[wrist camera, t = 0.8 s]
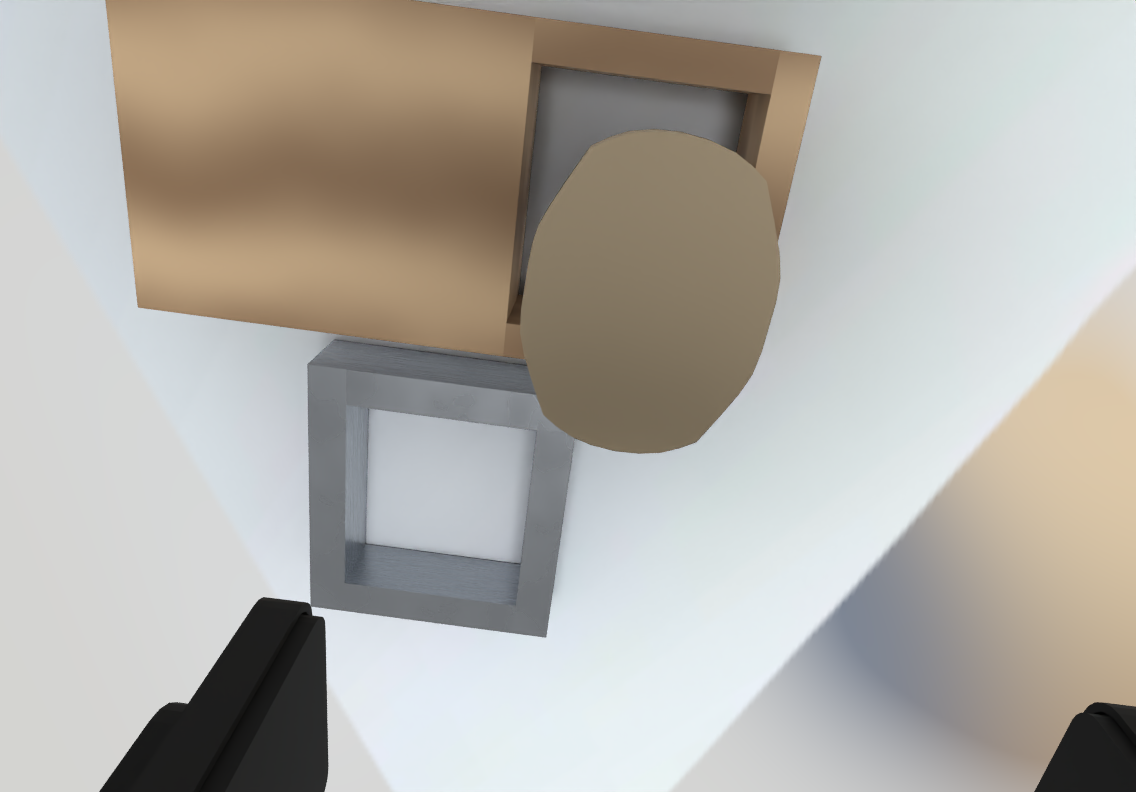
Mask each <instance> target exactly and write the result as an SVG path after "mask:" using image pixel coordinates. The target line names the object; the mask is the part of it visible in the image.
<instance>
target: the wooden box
mask: <svg viewBox="0 0 1136 792" xmlns="http://www.w3.org/2000/svg"><path fill="white" fill-rule="evenodd" d="M106 9H107V19H108V28H109V38H110V47H111V57H112V66H113V76H114V85H115V95H116V104H117V114H118V123H119V133H120V142H121V152H122V161H123V171H124V180H125V190H126V199H127V209H128V218H129V228H130V237H131V246H132V256H133V265H134V275H135V284H136V294H137V303H138V307H139V308H146V309H154V310H161V311H168V312H176V313H183V314H191V315H198V316H206V317H213V318H221V319H228V320H236V321H243V322H250V323H258V324H265V325H273V326H280V327H288V328H295V329H303V330H310V331H318V332H325V333H333V334H340V335H347V336H355V337H362V338H370V339H377V340H385V341H392V342H400V343H407V344H415V345H422V346H429V347H437V348H444V349H452V350H459V351H467V352H474V353H482V354H489V355H497V356H504V357H511V358H519V359H525V357H524V352H523V346H522V341H521V335H520V323H521V306H522V300H523V295H519V285H520V275H521V265H522V255H523V245H524V235H525V226H526V216H527V206H528V196H529V186H530V176H531V167H532V157H533V147H534V137H535V127H536V117H537V107H538V98H539V88H540V78H541V68H542V66H547V67H554V68H562V69H569V70H576V71H584V72H591V73H598V74H606V75H613V76H620V77H628V78H635V79H643V80H650V81H657V82H665V83H672V84H679V85H687V86H694V87H701V88H709V89H716V90H723V91H731V92H738V93H745V94H748V97H747V102H746V107H745V112H744V117H743V122H742V127H741V132H740V137H739V141H738V146H737V151H736V153H737V154H738V155H740V156H741V157H742V158H743V159H744V160H746V161H747V162H748V163H749V164H751V165H752V166H753V167H754V168H755V169H756V170H757V171H758V172H759V173H760V175H761V176H762V177H763V178H764V179H765V180H766V181H767V185H768V190H769V196H770V201H771V206H772V212H773V217H774V222H775V228H776V235H777V241H778V239H779V234H780V230H781V226H782V222H783V217H784V213H785V209H786V205H787V200H788V196H789V192H790V188H791V183H792V179H793V175H794V171H795V166H796V162H797V158H798V154H799V149H800V145H801V141H802V137H803V132H804V128H805V124H806V120H807V115H808V111H809V107H810V103H811V98H812V94H813V90H814V86H815V81H816V77H817V73H818V69H819V64H820V60H821V56H818V55H810V54H803V53H796V52H788V51H781V50H774V49H766V48H759V47H752V46H744V45H737V44H730V43H722V42H715V41H708V40H700V39H693V38H686V37H678V36H671V35H664V34H656V33H649V32H641V31H634V30H627V29H619V28H612V27H605V26H597V25H590V24H583V23H575V22H568V21H561V20H553V19H546V18H539V17H531V16H524V15H517V14H509V13H502V12H495V11H487V10H480V9H473V8H465V7H458V6H451V5H443V4H436V3H429V2H421V1H414V0H106Z"/></svg>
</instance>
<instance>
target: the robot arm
mask: <svg viewBox="0 0 1136 792" xmlns="http://www.w3.org/2000/svg"><path fill="white" fill-rule="evenodd" d="M327 777H328V731H327V684H326V638H325V620H324V618H323V617H319V616H312V609H311V606H310V604H309V603H306V602H298V601H290V600H282V599H274V598H265V597H263V598H261V599H259V600H258V601H257V603H256V604H255V605H254V606H253V608H252V609H251V611H250V612H249V614H248V615H247V617H246V618H245V620H244V621H243V623H242V624H241V626H240V627H239V629H238V630H237V632H236V633H235V635H234V636H233V638H232V639H231V641H230V642H229V644H228V645H227V647H226V648H225V650H224V651H223V653H222V654H221V656H220V657H219V658H218V660H217V662H216V663H215V665H214V666H213V668H212V669H211V670H210V672H209V673H208V675H207V676H206V678H205V679H204V681H203V682H202V684H201V685H200V687H199V688H198V690H197V691H196V693H195V694H194V696H193V697H192V699H191V701H190V702H189V703H188V704H185V703H178V702H175V703H168V704H167V705H165V706H164V707H162V708H161V709H159V711H158V712H157V713H156V714H155V715H154V716H153V718H152V719H151V720H150V721H149V723H148V724H147V725H146V727H145V728H144V730H143V731H142V732H141V734H140V735H139V737H138V738H137V739H136V741H135V742H134V744H133V745H132V746H131V748H130V749H129V751H128V752H127V754H126V755H125V756H124V758H123V759H122V760H121V762H120V763H119V765H118V766H117V768H116V769H115V770H114V772H113V773H112V775H111V776H110V777H109V779H108V780H107V782H106V783H105V784H104V786H103V787H102V789H101V790H100V792H324V791H325V787H326V782H327ZM1035 792H1136V707H1134V706H1126V705H1118V704H1110V703H1099V702H1097V703H1093V704H1091V705H1089V706H1088V707H1087V708H1086V710H1085V711H1084V712H1083V713H1079V714H1077V715H1076V716H1075V717H1074V718H1073V720H1072V722H1071V723H1070V725H1069V727H1068V729H1067V731H1066V733H1065V735H1064V737H1063V738H1062V741H1061V742H1060V744H1059V746H1058V748H1057V750H1056V752H1055V754H1054V756H1053V758H1052V759H1051V761H1050V763H1049V765H1048V767H1047V769H1046V771H1045V773H1044V775H1043V776H1042V778H1041V780H1040V782H1039V784H1038V786H1037V788H1036V790H1035Z"/></svg>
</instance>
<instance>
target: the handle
mask: <svg viewBox="0 0 1136 792" xmlns="http://www.w3.org/2000/svg"><path fill="white" fill-rule="evenodd" d="M779 283H780V256H779V247H778V241H777V235H776V228H775V222H774V217H773V212H772V206H771V201H770V196H769V190H768V185H767V181H766V180H765V179H764V178H763V177H762V176H761V175H760V173H759V172H758V171H757V170H756V169H755V168H754V167H753V166H752V165H751V164H749V163H748V162H747V161H746V160H744V159H743V158H742V157H741V156H740V155H738V154H737V153H736V152H734V151H732V150H730V149H727V148H725V147H723V146H721V145H719V144H717V143H715V142H713V141H711V140H708V139H705V138H702V137H698V136H694V135H691V134H687V133H684V132H678V131H668V130H659V129H648V130H634V131H627V132H624V133H621V134H618V135H614V136H611V137H608V138H606V139H604V140H602V141H600V142H597V143H595V144H593V145H591V146H590V148H589V149H588V150H587V152H586V153H585V155H584V156H583V157H582V159H581V160H580V162H579V163H578V164H577V166H576V167H575V169H574V170H573V172H572V173H571V174H570V176H569V177H568V179H567V180H566V182H565V183H564V185H563V186H562V188H561V189H560V191H559V192H558V194H557V195H556V197H555V198H554V200H553V201H552V203H551V204H550V206H549V208H548V209H547V211H546V213H545V214H544V216H543V218H542V220H541V221H540V223H539V225H538V228H537V230H536V233H535V236H534V239H533V242H532V246H531V251H530V256H529V261H528V267H527V274H526V280H525V287H524V293H523V300H522V306H521V323H520V335H521V341H522V346H523V352H524V357H525V360H526V363H527V367H528V370H529V373H530V377H531V380H532V383H533V386H534V389H535V392H536V395H537V398H538V401H539V404H540V407H541V410H542V413H543V415H544V416H545V417H546V418H547V419H548V420H550V421H551V422H552V423H553V424H554V425H555V426H556V427H558V428H559V429H561V430H562V431H564V432H565V433H567V434H568V435H570V436H571V437H573V438H576V439H578V440H581V441H583V442H585V443H588V444H590V445H593V446H597V447H601V448H605V449H609V450H613V451H619V452H629V453H638V454H640V453H662V452H666V451H670V450H674V449H679V448H682V447H684V446H687V445H690V444H693V443H695V442H697V441H698V440H699V439H700V438H701V437H702V435H703V434H704V433H705V432H706V431H707V430H708V429H709V428H710V427H711V426H712V424H713V423H714V422H715V421H716V420H717V419H718V418H719V417H720V416H721V414H722V413H723V412H724V411H725V410H726V409H727V407H728V406H729V405H730V404H731V403H732V402H733V401H734V399H735V398H736V397H737V396H738V395H739V393H740V392H741V390H742V389H743V387H744V386H745V385H746V383H747V382H748V380H749V379H750V377H751V376H752V374H753V372H754V369H755V367H756V364H757V362H758V360H759V357H760V355H761V352H762V349H763V345H764V342H765V339H766V335H767V332H768V328H769V325H770V321H771V318H772V315H773V311H774V308H775V304H776V299H777V294H778V288H779Z"/></svg>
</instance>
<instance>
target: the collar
mask: <svg viewBox="0 0 1136 792" xmlns="http://www.w3.org/2000/svg"><path fill="white" fill-rule="evenodd" d="M368 408H370V409H378V410H385V411H393V412H400V413H408V414H415V415H423V416H430V417H438V418H445V419H453V420H460V421H468V422H475V423H483V424H490V425H498V426H505V427H513V428H520V429H528V430H535V431H537V434H536V442H535V451H534V459H533V467H532V476H531V484H530V492H529V501H528V509H527V517H526V525H525V534H524V542H523V550H522V559H521V564H513V563H506V562H498V561H490V560H483V559H475V558H468V557H460V556H453V555H445V554H438V553H430V552H423V551H415V550H408V549H400V548H393V547H385V546H378V545H370V544H365V538H366V492H367V445H368ZM308 439H309V515H310V590H311V606H312V607H319V608H327V609H334V610H342V611H349V612H357V613H365V614H372V615H380V616H387V617H395V618H402V619H410V620H417V621H425V622H433V623H440V624H448V625H455V626H463V627H470V628H478V629H485V630H493V631H501V632H508V633H516V634H523V635H531V636H538V637H546V635H547V628H548V621H549V614H550V607H551V600H552V593H553V586H554V579H555V572H556V565H557V558H558V551H559V544H560V537H561V530H562V523H563V516H564V509H565V502H566V495H567V488H568V481H569V474H570V467H571V460H572V453H573V446H574V439H575V438H573V437H571V436H570V435H568V434H567V433H565V432H564V431H562V430H561V429H559V428H558V427H556V426H555V425H554V424H553V423H552V422H551V421H550V420H548V419H547V418H546V417H545V416H544V415H543V413H542V410H541V407H540V404H539V401H538V398H537V395H536V392H535V389H534V386H533V383H532V380H531V377H530V373H529V370H528V367H527V366H526V365H519V364H511V363H504V362H497V361H489V360H482V359H474V358H467V357H459V356H452V355H444V354H437V353H429V352H422V351H415V350H407V349H400V348H392V347H385V346H377V345H370V344H362V343H355V342H347V341H340V340H333V341H332V342H331V343H330V344H329V345H328V346H327V347H326V348H325V349H324V350H323V351H321V352H320V353H319V354H318V355H317V356H316V357H315V358H314V359H313V360H312V361H311V362H310V363H308Z"/></svg>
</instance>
